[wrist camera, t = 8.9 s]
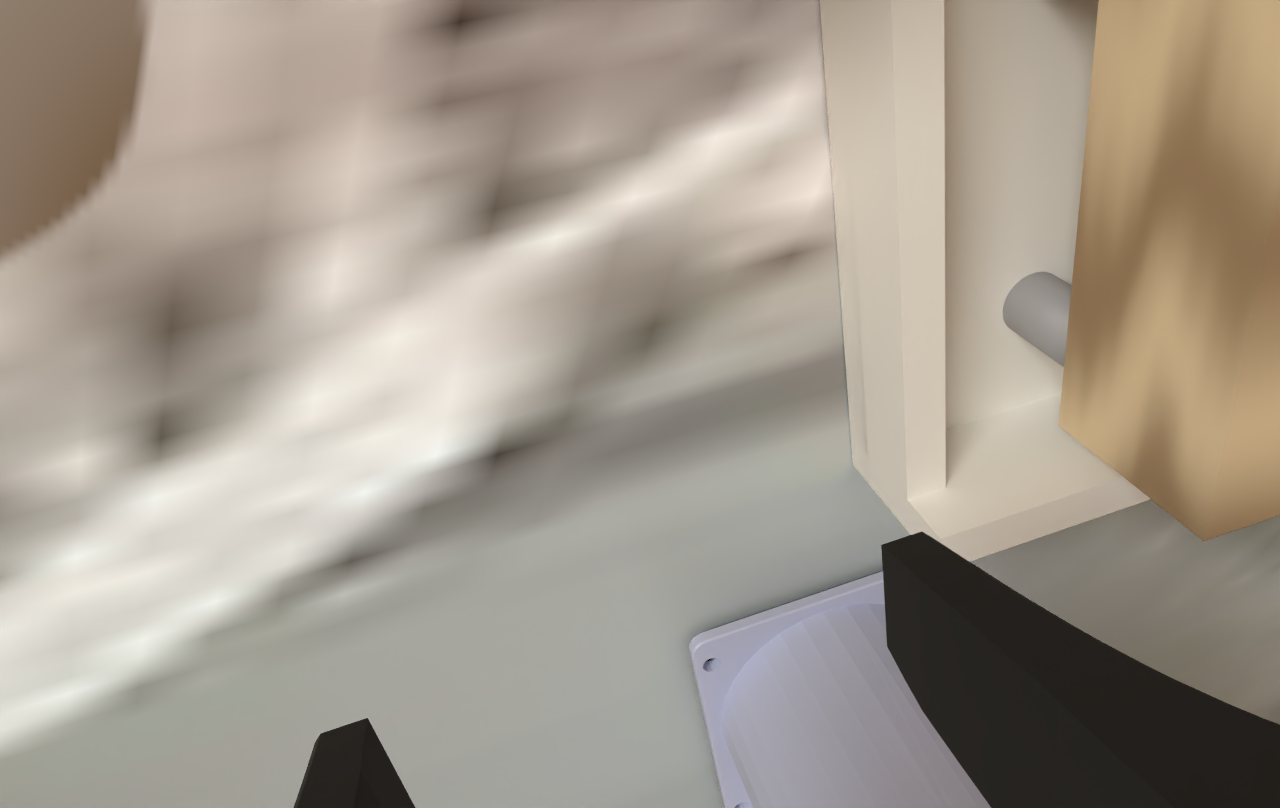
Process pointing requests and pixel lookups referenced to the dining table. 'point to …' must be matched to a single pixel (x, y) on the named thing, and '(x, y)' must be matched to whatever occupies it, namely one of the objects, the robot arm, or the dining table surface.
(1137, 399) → the wooden block
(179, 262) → the dining table surface
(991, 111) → the peg frame
